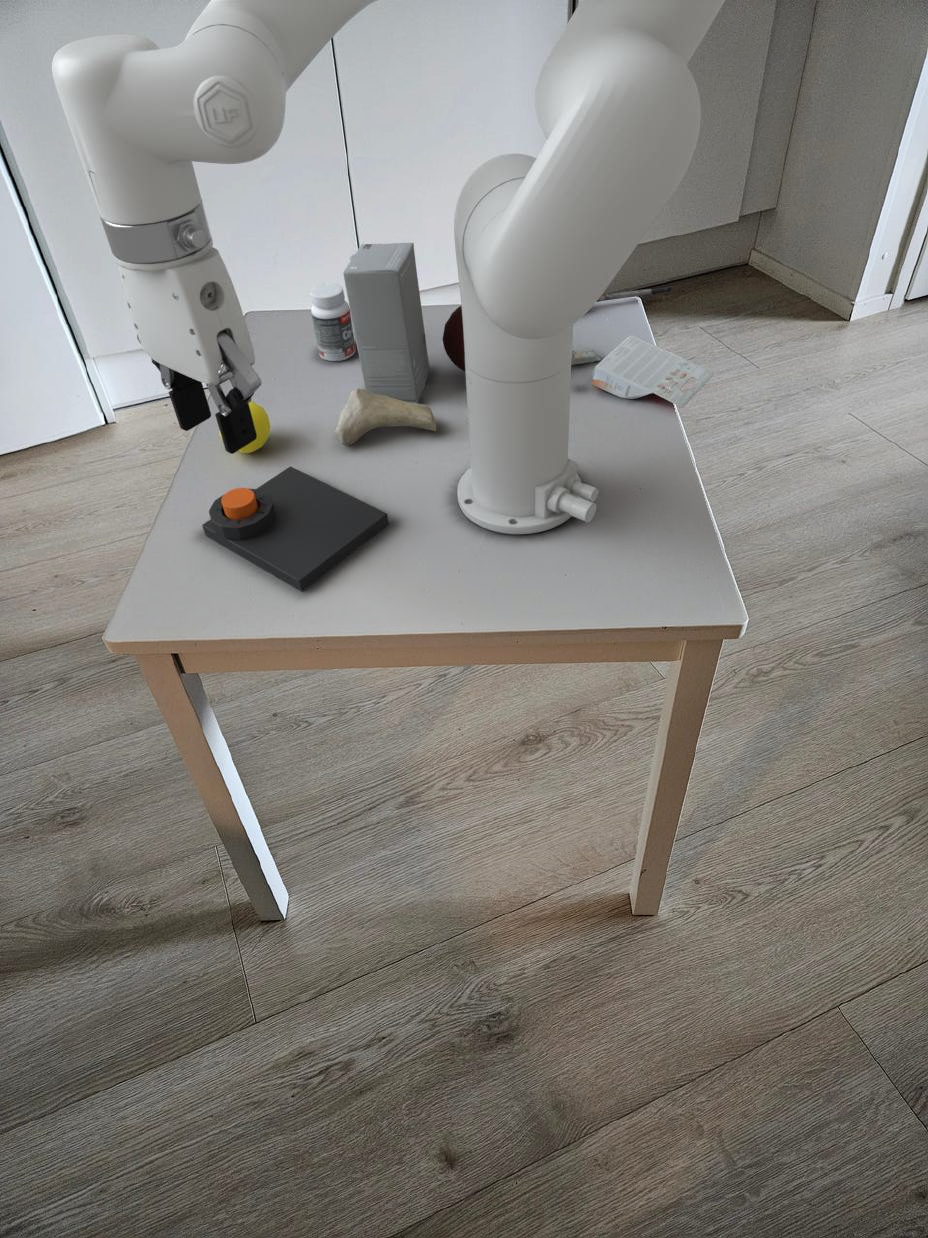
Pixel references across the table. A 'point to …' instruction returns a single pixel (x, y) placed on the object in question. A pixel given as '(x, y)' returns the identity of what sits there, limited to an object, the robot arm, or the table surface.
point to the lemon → (257, 428)
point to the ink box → (648, 372)
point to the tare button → (239, 503)
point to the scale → (297, 527)
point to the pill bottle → (332, 322)
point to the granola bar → (584, 356)
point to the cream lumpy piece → (379, 415)
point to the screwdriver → (633, 293)
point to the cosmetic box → (388, 320)
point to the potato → (455, 339)
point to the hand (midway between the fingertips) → (218, 432)
